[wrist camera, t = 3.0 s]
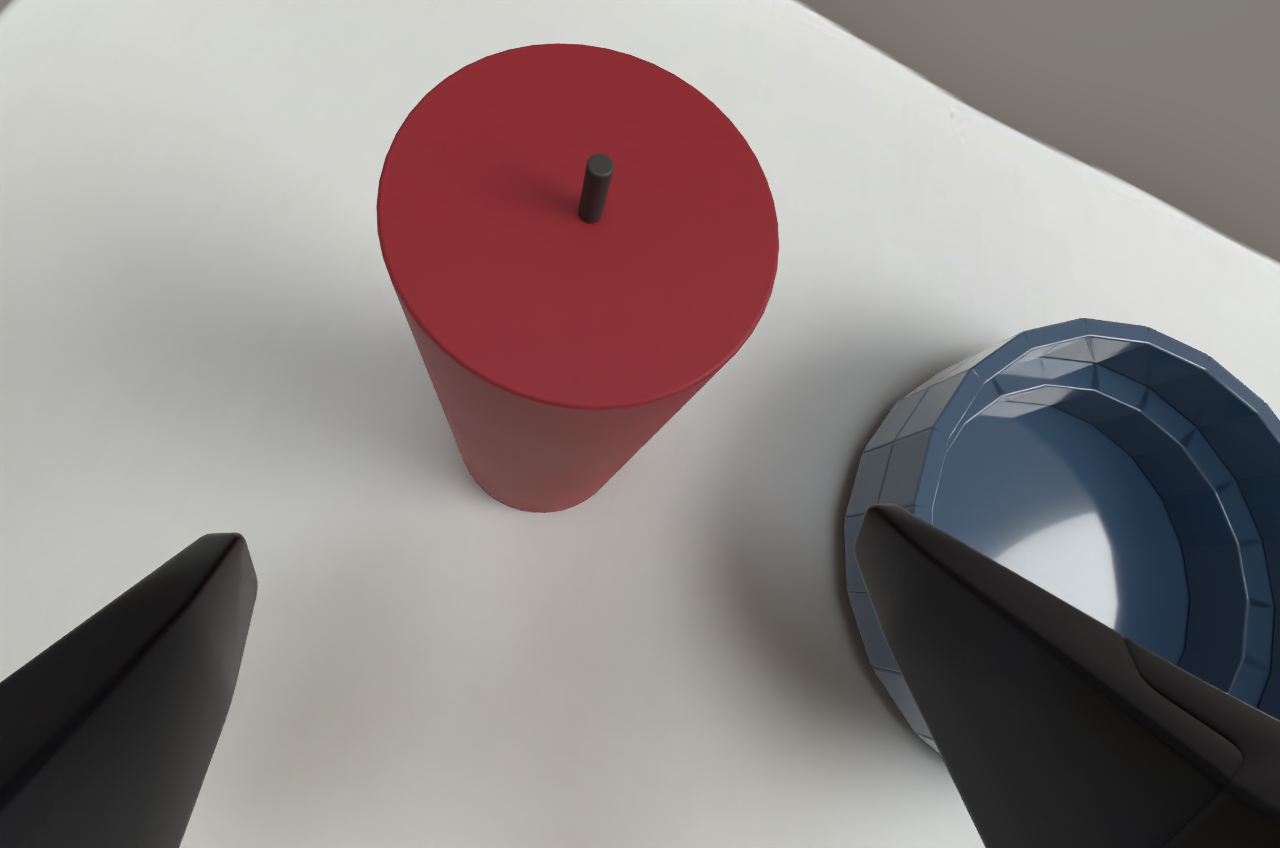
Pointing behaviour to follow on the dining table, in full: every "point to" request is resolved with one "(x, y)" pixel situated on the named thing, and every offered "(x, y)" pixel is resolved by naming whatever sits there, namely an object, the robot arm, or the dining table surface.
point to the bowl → (1097, 494)
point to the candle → (571, 259)
